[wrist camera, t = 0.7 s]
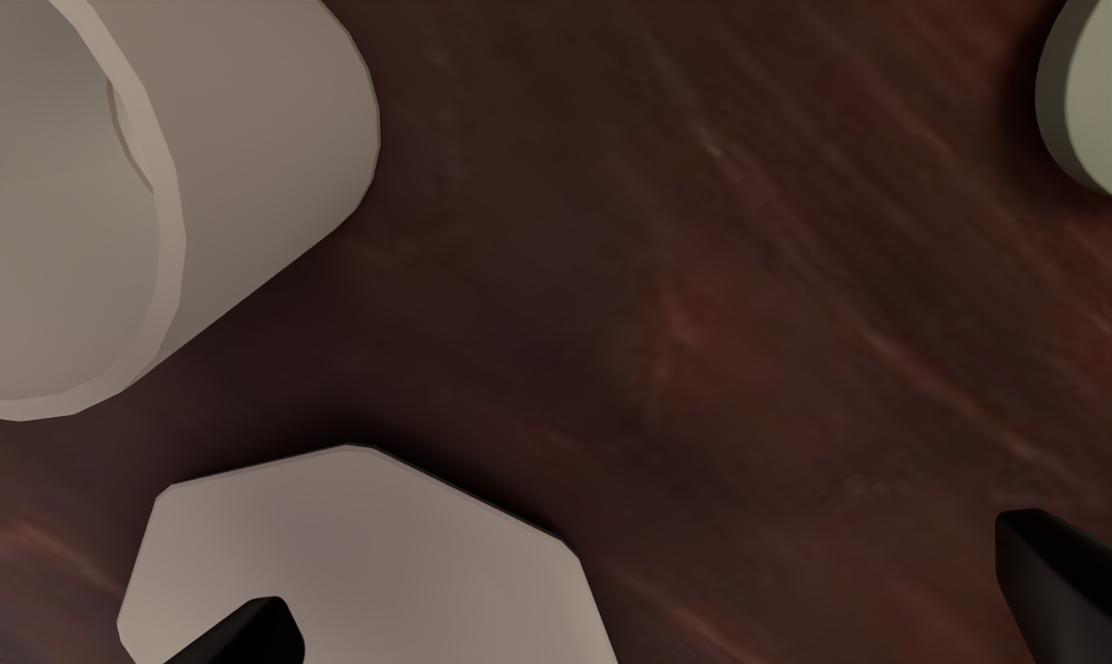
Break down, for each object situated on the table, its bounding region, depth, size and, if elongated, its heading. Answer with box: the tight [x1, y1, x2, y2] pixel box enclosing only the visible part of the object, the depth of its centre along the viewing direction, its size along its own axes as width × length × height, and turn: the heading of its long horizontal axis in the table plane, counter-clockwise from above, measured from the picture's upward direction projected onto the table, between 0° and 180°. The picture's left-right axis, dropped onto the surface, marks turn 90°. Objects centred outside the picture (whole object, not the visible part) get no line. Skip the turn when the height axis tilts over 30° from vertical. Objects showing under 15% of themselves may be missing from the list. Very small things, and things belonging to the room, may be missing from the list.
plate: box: [117, 442, 619, 664], centre depth 28 cm, size 20×20×2 cm
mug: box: [0, 0, 381, 421], centre depth 15 cm, size 11×9×10 cm
